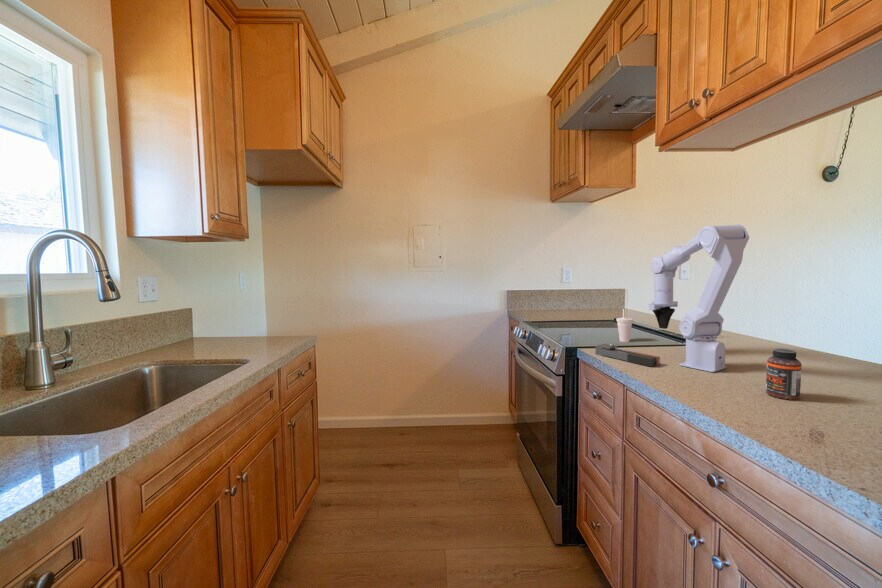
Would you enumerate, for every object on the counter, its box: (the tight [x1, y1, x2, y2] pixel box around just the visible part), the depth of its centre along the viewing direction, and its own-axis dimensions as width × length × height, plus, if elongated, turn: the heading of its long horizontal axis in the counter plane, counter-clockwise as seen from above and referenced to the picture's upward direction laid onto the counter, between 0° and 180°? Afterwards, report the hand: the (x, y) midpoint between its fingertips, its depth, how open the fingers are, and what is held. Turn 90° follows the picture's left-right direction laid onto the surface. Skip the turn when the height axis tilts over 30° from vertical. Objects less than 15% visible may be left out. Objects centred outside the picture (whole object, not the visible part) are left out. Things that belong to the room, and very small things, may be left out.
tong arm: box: [612, 348, 661, 366], centre depth 120 cm, size 18×3×2 cm, turn 29°
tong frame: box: [594, 343, 656, 368], centre depth 120 cm, size 21×5×4 cm, turn 28°
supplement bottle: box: [765, 348, 803, 401], centre depth 83 cm, size 6×6×11 cm
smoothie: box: [615, 308, 634, 343], centre depth 148 cm, size 6×6×14 cm
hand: (663, 328), depth 125 cm, fingers closed
